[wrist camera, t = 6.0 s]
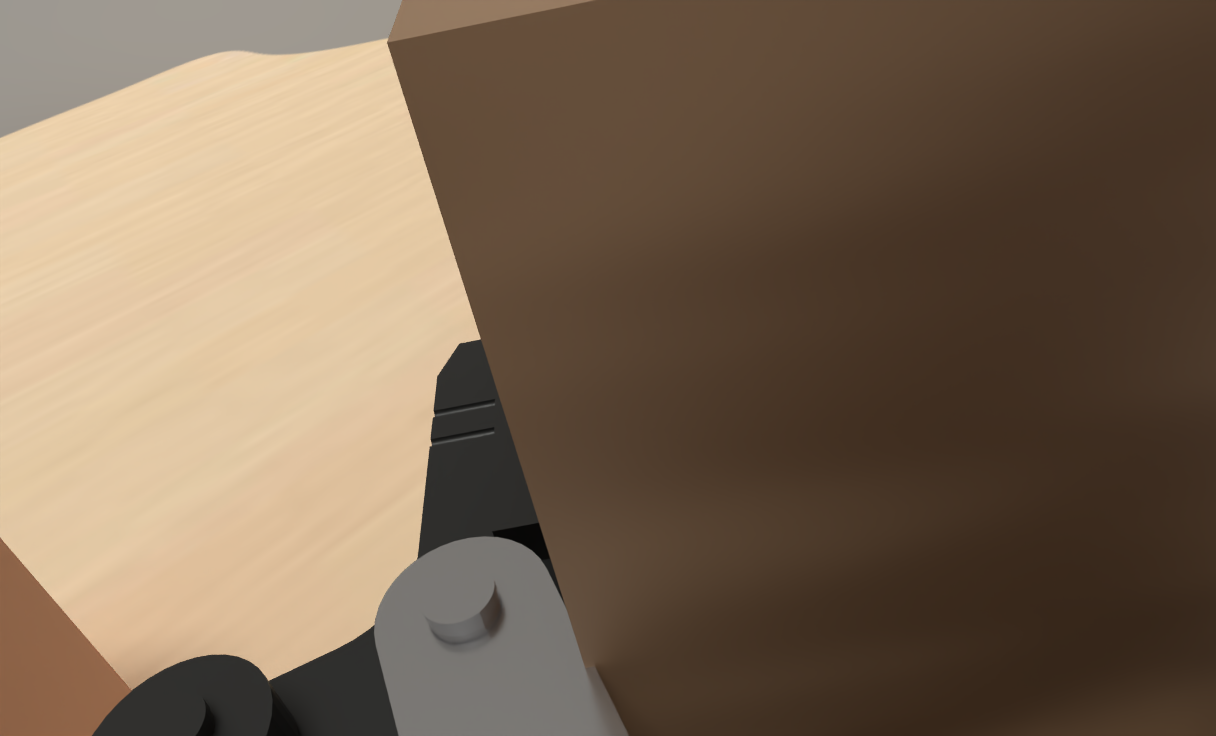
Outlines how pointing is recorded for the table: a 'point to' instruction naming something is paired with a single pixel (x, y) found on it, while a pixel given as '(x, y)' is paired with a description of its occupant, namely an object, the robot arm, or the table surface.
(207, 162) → the table surface
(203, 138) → the table surface
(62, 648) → the terracotta block
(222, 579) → the table surface
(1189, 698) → the walnut column
